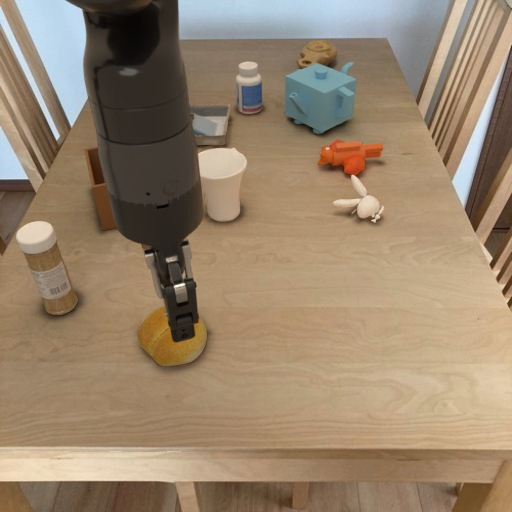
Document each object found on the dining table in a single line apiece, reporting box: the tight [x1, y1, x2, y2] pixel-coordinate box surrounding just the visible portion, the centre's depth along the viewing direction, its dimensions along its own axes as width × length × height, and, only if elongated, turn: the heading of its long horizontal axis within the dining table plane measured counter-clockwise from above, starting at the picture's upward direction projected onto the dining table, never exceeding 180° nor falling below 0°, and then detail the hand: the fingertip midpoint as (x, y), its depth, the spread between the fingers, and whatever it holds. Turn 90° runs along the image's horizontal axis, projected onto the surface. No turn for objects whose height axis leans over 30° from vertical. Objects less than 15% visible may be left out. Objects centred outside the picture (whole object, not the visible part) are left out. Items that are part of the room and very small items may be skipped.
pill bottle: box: [235, 61, 263, 115], centre depth 117 cm, size 6×5×10 cm
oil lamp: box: [296, 39, 338, 69], centre depth 134 cm, size 11×14×5 cm
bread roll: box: [137, 306, 208, 367], centre depth 71 cm, size 8×9×4 cm
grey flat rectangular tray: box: [189, 103, 232, 146], centre depth 113 cm, size 13×25×3 cm, turn 89°
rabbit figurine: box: [332, 175, 385, 224], centre depth 91 cm, size 6×4×8 cm
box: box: [83, 146, 117, 231], centre depth 93 cm, size 12×12×8 cm
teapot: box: [284, 61, 358, 135], centre depth 112 cm, size 16×18×11 cm
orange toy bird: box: [317, 138, 384, 176], centre depth 101 cm, size 5×8×12 cm
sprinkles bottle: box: [15, 220, 79, 316], centre depth 73 cm, size 5×5×13 cm
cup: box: [198, 147, 248, 223], centre depth 90 cm, size 9×9×10 cm
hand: (176, 315), depth 55 cm, fingers open, 5 cm apart
